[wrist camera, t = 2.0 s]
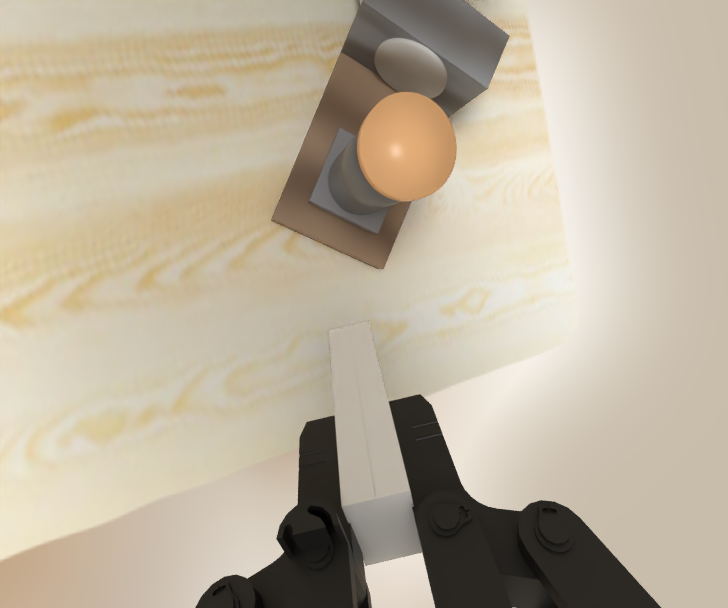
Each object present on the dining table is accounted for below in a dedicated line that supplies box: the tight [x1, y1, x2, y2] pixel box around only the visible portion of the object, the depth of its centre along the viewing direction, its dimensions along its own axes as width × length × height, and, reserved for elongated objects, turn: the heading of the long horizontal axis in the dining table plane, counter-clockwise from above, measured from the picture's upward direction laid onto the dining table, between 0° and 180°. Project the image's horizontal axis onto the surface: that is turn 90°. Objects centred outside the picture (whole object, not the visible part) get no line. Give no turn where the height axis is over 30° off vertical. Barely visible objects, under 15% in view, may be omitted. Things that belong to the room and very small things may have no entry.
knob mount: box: [272, 0, 509, 269], centre depth 28 cm, size 18×10×8 cm, turn 156°
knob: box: [308, 92, 456, 234], centre depth 25 cm, size 6×6×11 cm
